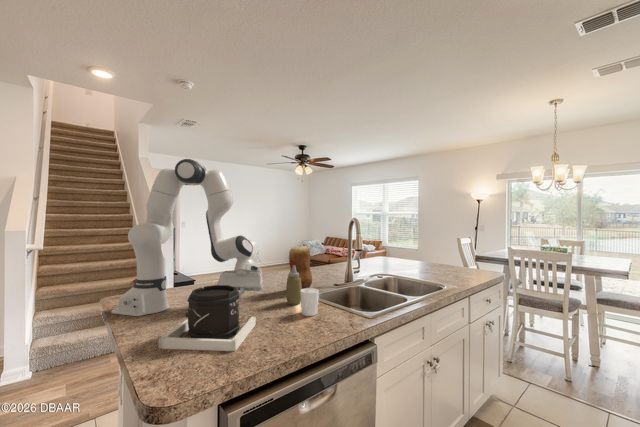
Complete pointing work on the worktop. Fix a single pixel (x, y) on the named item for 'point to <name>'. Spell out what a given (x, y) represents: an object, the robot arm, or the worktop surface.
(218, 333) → the black short wide cylinder
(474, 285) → the worktop surface
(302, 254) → the butternut squash
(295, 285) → the squeeze bottle
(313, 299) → the white cup
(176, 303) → the worktop surface
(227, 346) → the bay
